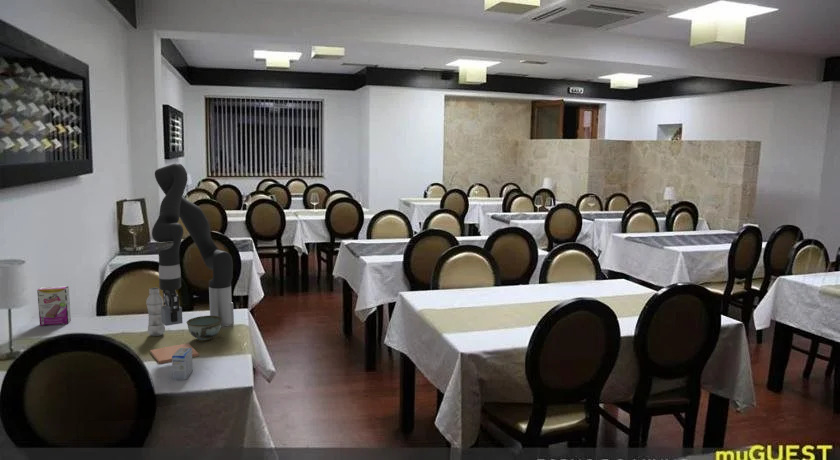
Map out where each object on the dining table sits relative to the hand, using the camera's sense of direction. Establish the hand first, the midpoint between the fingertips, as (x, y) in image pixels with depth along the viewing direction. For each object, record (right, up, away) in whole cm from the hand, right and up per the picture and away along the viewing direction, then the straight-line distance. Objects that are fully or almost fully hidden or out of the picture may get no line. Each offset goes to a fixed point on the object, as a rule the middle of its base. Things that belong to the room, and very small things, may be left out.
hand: (171, 319), depth 219 cm
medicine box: (+12, -17, -18) cm, 27 cm away
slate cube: (0, -1, 0) cm, 1 cm away
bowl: (+5, -11, +20) cm, 23 cm away
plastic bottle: (-16, -10, +23) cm, 30 cm away
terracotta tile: (0, -14, +2) cm, 14 cm away
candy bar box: (-67, -8, +37) cm, 77 cm away
